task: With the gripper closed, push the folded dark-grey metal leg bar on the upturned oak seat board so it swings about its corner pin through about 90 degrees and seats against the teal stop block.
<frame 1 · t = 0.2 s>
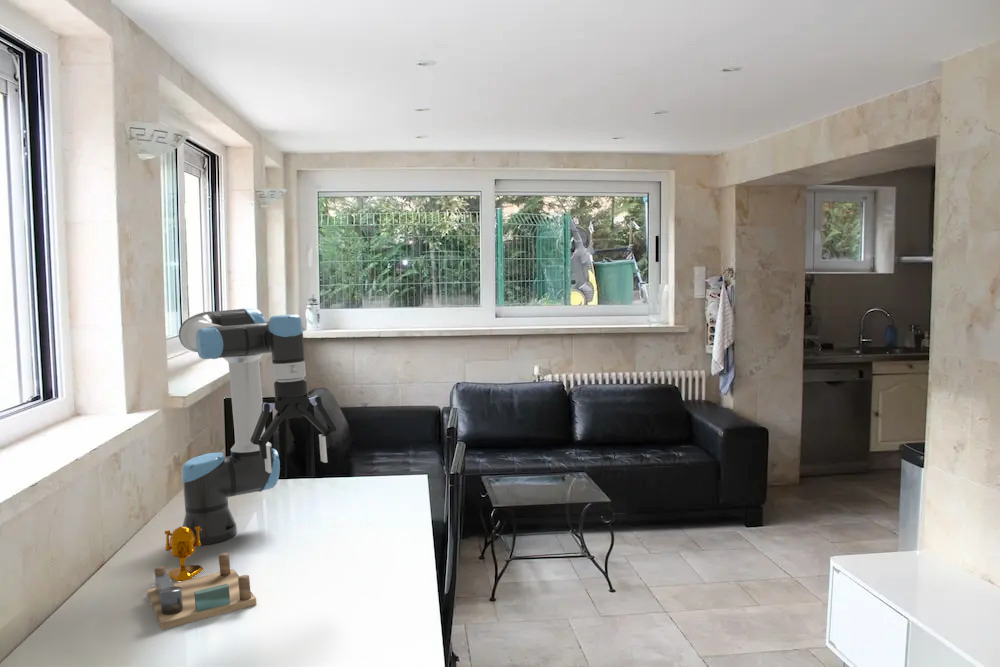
hand: (296, 466, 191), 28 cm above the table, fingers open, 13 cm apart
seat board: (200, 600, 183), on the table
figurine: (185, 574, 201), on the table
leg: (167, 592, 179), point 4 cm above the table, hinge at 0.0°
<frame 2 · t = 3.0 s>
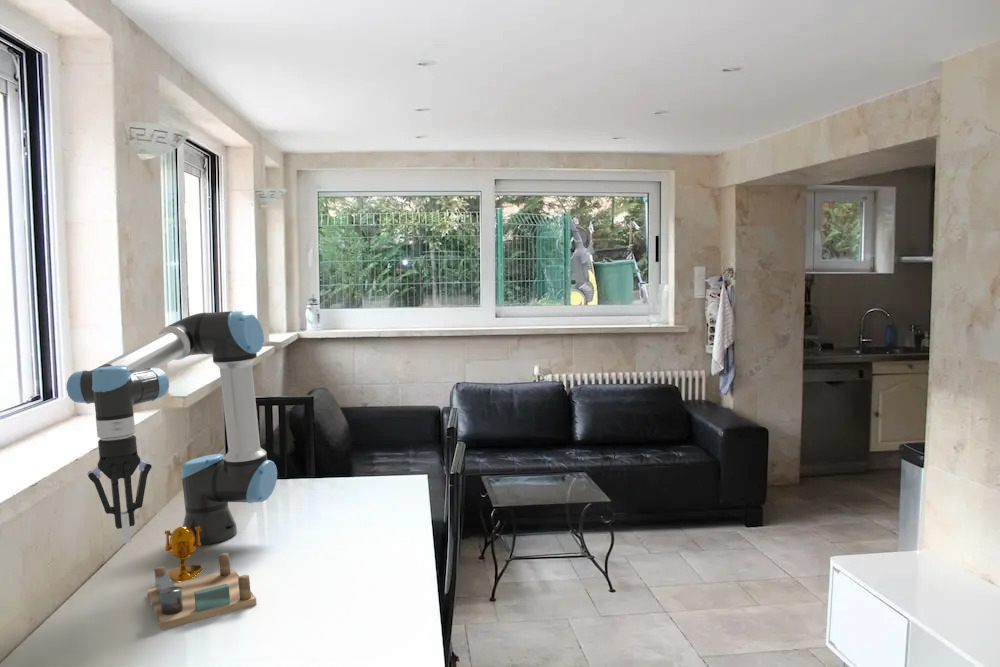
hand: (126, 541, 175), 17 cm above the table, fingers closed
nothing on the table moved.
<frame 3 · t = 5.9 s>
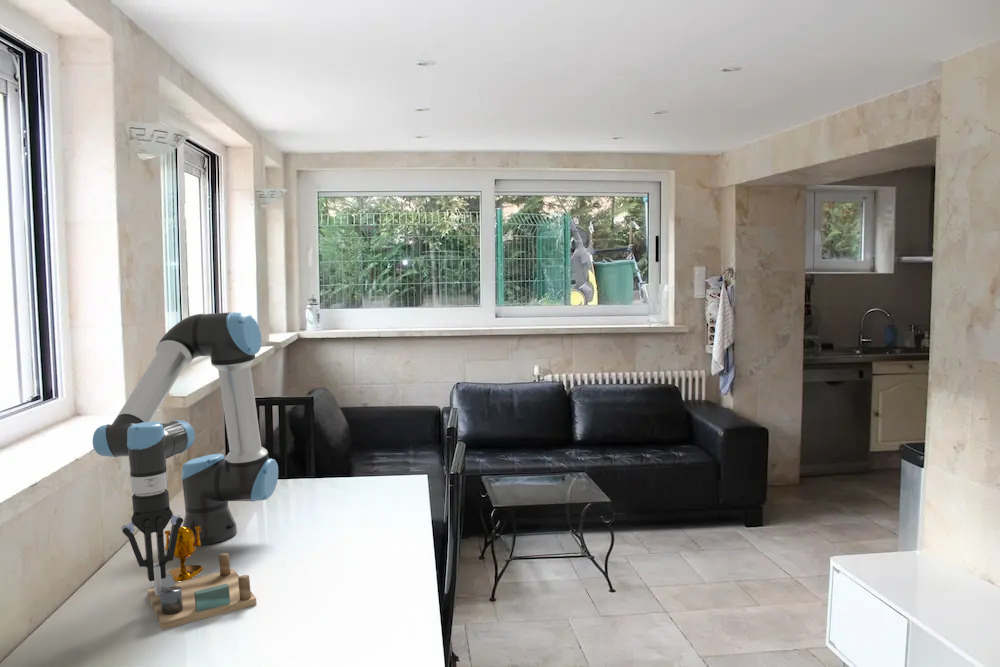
hand: (158, 593, 180), 4 cm above the table, fingers closed
leg: (168, 591, 179), point 4 cm above the table, hinge at 3.1°, touching gripper
everything else where it was.
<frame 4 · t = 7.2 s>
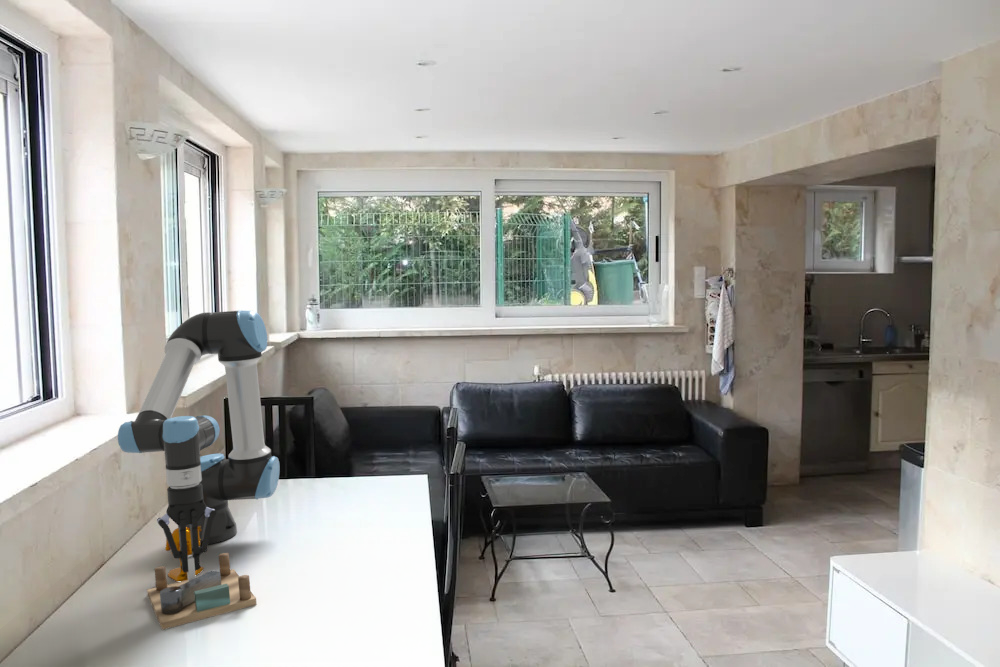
hand: (192, 584, 183), 4 cm above the table, fingers closed
leg: (190, 590, 179), point 4 cm above the table, hinge at 57.7°, touching gripper
everything else where it was.
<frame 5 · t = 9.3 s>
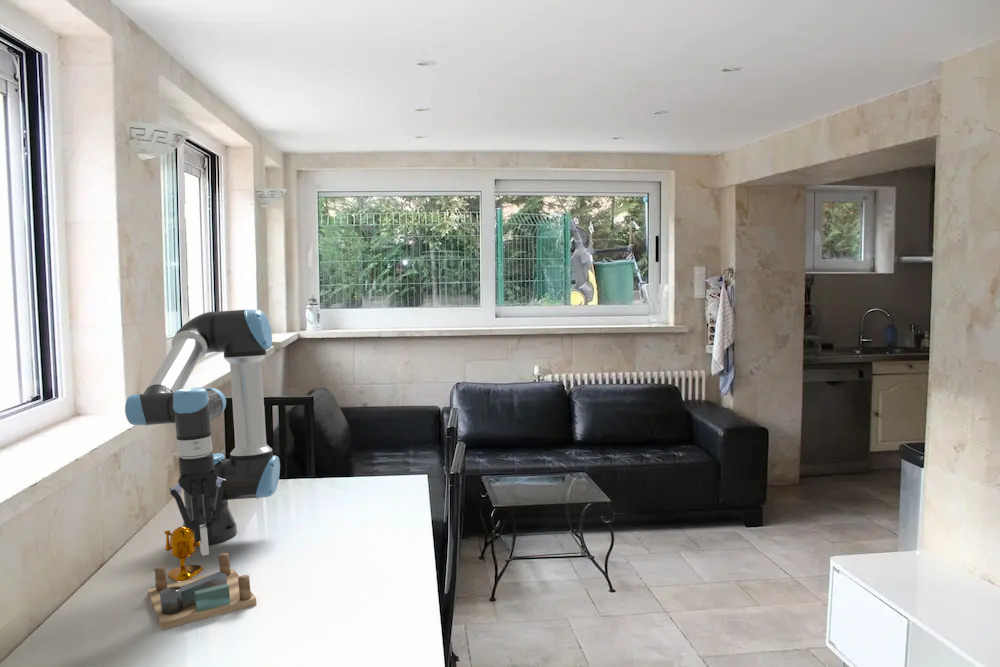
hand: (204, 553, 185), 10 cm above the table, fingers closed
leg: (193, 591, 179), point 4 cm above the table, hinge at 68.6°
everything else where it was.
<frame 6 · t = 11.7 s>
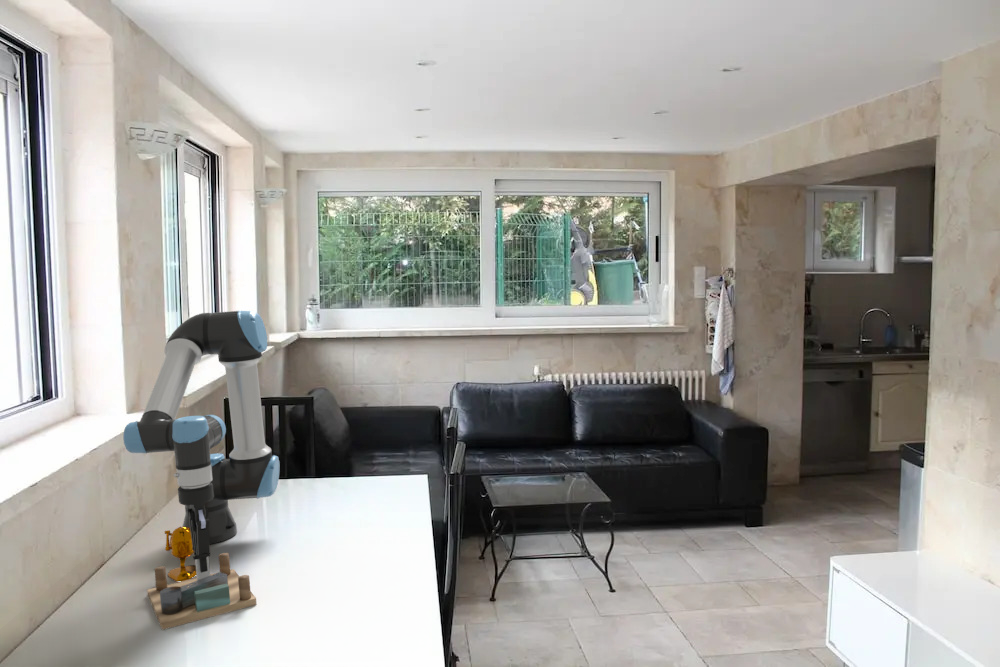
hand: (204, 583, 183), 4 cm above the table, fingers closed
leg: (194, 591, 179), point 4 cm above the table, hinge at 70.4°, touching gripper
everything else where it was.
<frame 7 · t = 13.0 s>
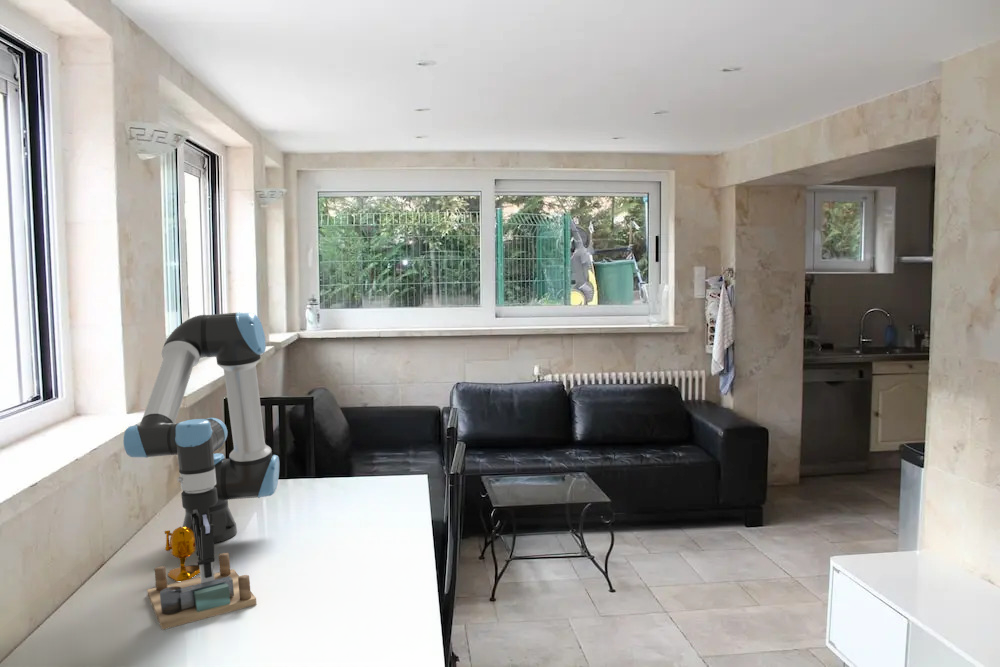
hand: (208, 589, 181), 4 cm above the table, fingers closed
leg: (197, 593, 177), point 4 cm above the table, hinge at 88.9°, touching gripper
everything else where it was.
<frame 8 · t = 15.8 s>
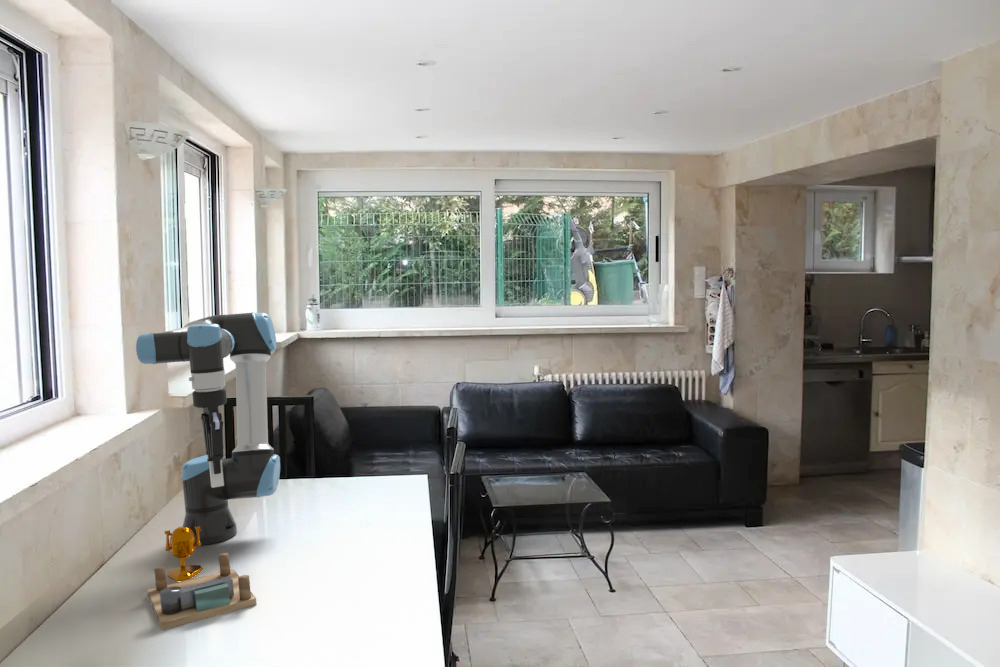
hand: (217, 486, 190), 24 cm above the table, fingers closed
leg: (197, 593, 177), point 4 cm above the table, hinge at 88.9°
everything else where it was.
at the end: leg at +89° (first picture: +0°); the gripper is holding nothing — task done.
